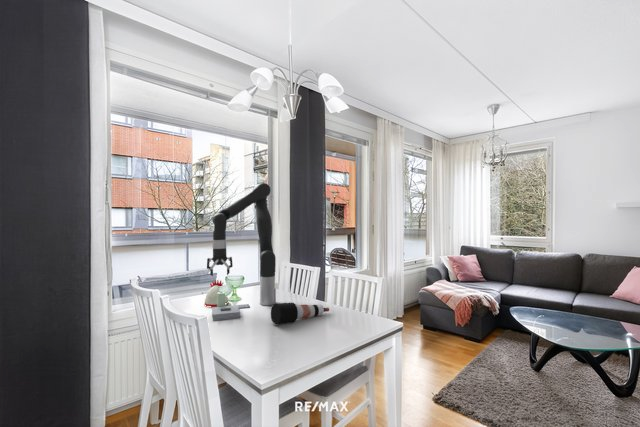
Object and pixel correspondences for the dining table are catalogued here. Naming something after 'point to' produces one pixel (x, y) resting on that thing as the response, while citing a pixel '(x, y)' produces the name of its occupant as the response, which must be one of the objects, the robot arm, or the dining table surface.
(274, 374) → the dining table surface
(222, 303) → the block
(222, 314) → the plate
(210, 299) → the kitchen timer
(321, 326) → the dining table surface
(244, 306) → the panel
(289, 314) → the bottle
